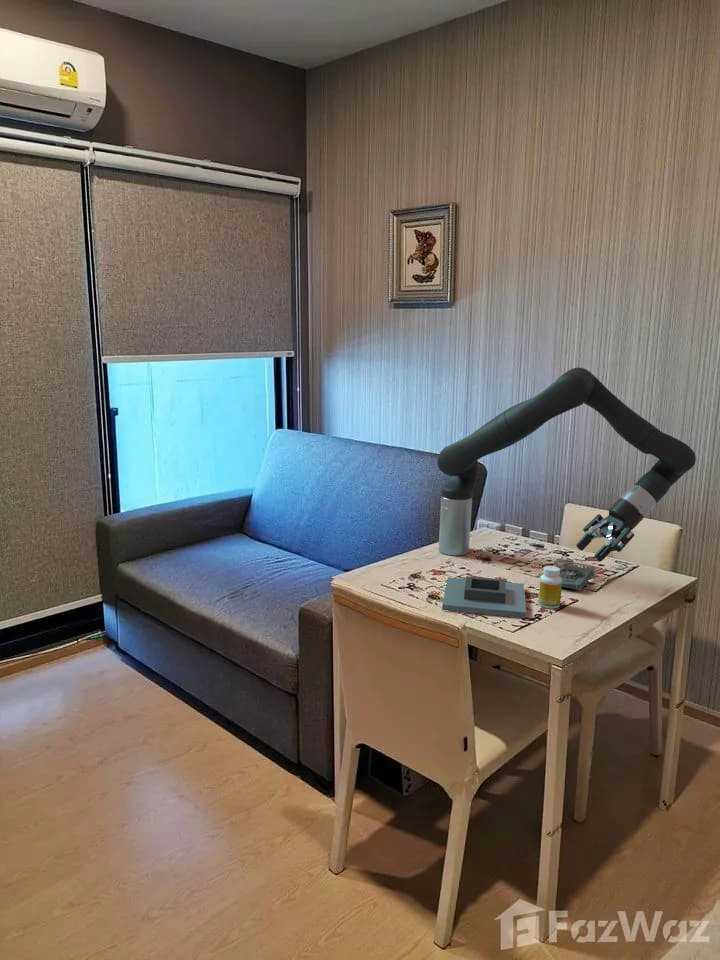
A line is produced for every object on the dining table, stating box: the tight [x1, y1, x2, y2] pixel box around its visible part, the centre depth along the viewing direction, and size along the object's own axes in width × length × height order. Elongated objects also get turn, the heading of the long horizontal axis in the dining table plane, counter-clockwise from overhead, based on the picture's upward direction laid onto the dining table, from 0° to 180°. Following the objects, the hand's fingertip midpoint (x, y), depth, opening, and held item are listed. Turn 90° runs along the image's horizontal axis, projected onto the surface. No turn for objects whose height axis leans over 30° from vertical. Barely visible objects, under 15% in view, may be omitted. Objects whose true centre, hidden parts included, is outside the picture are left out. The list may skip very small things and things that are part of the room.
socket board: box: [441, 575, 527, 619], centre depth 189 cm, size 20×20×4 cm
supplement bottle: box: [537, 565, 563, 610], centre depth 186 cm, size 5×5×10 cm
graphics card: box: [553, 559, 597, 591], centre depth 204 cm, size 17×4×12 cm
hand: (587, 553), depth 186 cm, fingers open, 8 cm apart
